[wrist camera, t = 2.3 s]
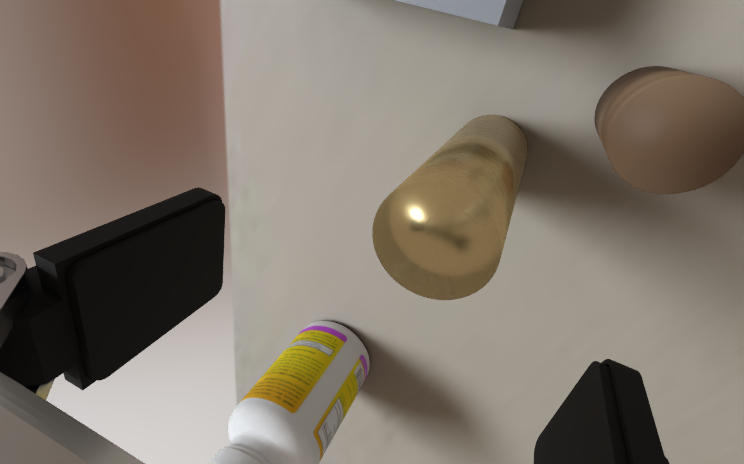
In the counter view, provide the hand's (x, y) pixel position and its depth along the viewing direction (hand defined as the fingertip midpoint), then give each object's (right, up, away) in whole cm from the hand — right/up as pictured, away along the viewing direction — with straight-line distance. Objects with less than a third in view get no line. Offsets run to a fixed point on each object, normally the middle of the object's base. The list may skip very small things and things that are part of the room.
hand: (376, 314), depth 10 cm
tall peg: (+6, +6, +12) cm, 15 cm away
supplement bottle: (-3, -8, +24) cm, 26 cm away
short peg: (+13, +8, +9) cm, 17 cm away
